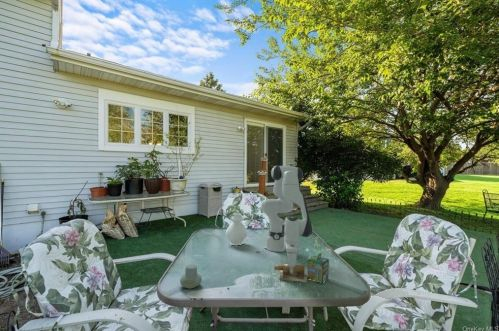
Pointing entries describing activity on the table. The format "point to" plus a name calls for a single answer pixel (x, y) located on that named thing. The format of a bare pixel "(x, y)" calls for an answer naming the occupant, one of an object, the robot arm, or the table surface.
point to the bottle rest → (293, 276)
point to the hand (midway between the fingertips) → (291, 269)
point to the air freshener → (190, 277)
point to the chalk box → (318, 268)
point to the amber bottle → (286, 267)
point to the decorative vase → (236, 230)
